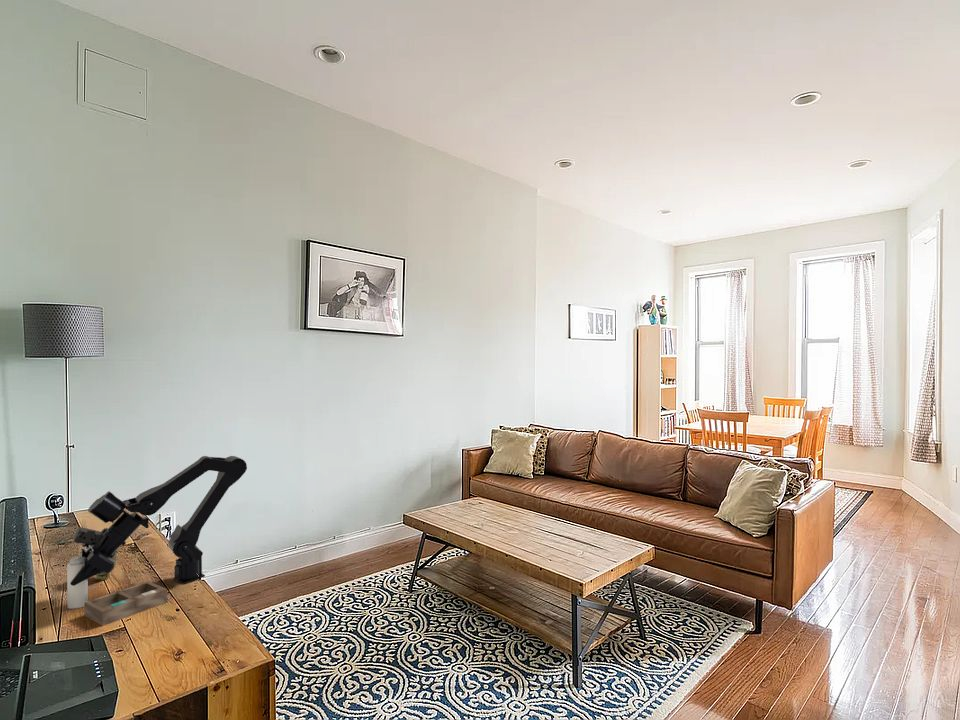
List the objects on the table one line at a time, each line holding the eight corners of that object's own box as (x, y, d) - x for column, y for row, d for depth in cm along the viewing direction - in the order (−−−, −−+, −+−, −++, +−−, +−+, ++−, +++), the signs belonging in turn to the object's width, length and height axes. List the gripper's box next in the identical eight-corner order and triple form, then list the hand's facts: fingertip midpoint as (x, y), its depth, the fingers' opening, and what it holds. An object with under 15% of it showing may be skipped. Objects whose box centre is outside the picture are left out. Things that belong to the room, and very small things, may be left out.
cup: (83, 585, 162) (83, 557, 162) (93, 575, 169) (93, 549, 169) (112, 582, 164) (112, 555, 164) (121, 572, 171) (120, 547, 171)
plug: (83, 600, 152) (83, 554, 152) (90, 603, 150) (90, 557, 150) (64, 606, 149) (64, 559, 149) (71, 610, 146) (71, 563, 146)
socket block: (148, 593, 156) (148, 580, 156) (167, 601, 151) (167, 588, 151) (84, 615, 143) (84, 601, 143) (102, 625, 138) (102, 611, 137)
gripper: (90, 508, 159) (42, 556, 152) (98, 523, 144) (45, 576, 137) (123, 530, 164) (77, 577, 157) (134, 546, 150) (84, 599, 143)
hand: (70, 582), depth 148 cm, fingers closed on plug, 4 cm apart
